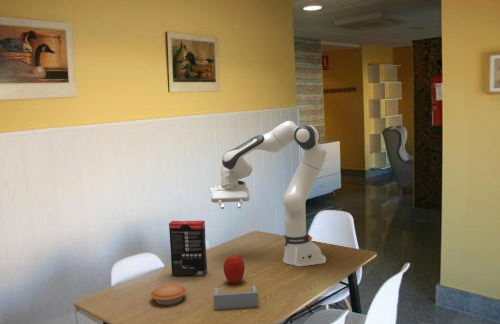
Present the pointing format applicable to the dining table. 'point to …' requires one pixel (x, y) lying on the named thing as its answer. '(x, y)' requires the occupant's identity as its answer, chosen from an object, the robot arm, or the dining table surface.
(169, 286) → the pie
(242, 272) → the apple
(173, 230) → the graphics card box
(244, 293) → the frame
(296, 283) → the dining table surface
